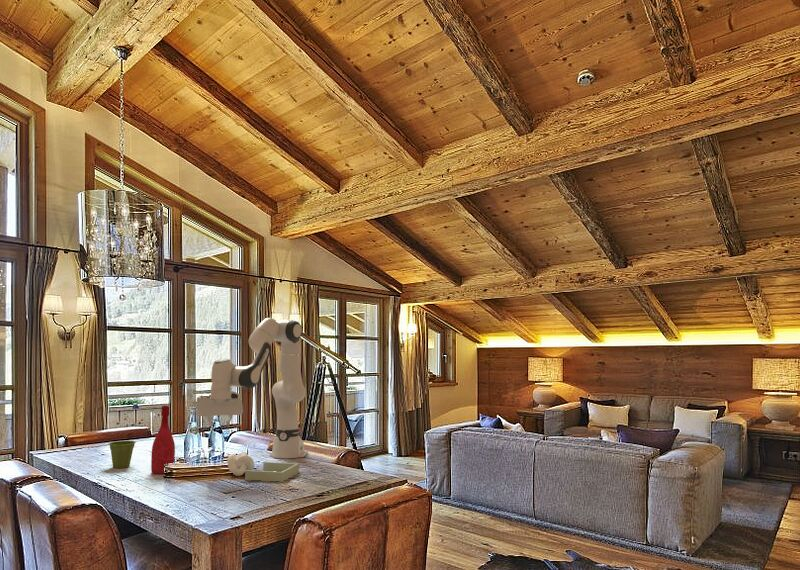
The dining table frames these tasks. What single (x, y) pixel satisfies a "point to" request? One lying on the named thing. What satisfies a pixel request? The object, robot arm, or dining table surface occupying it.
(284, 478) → the frame
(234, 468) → the cream lumpy rounded piece
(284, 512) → the dining table surface
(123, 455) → the plant pot
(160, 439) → the wine bottle
